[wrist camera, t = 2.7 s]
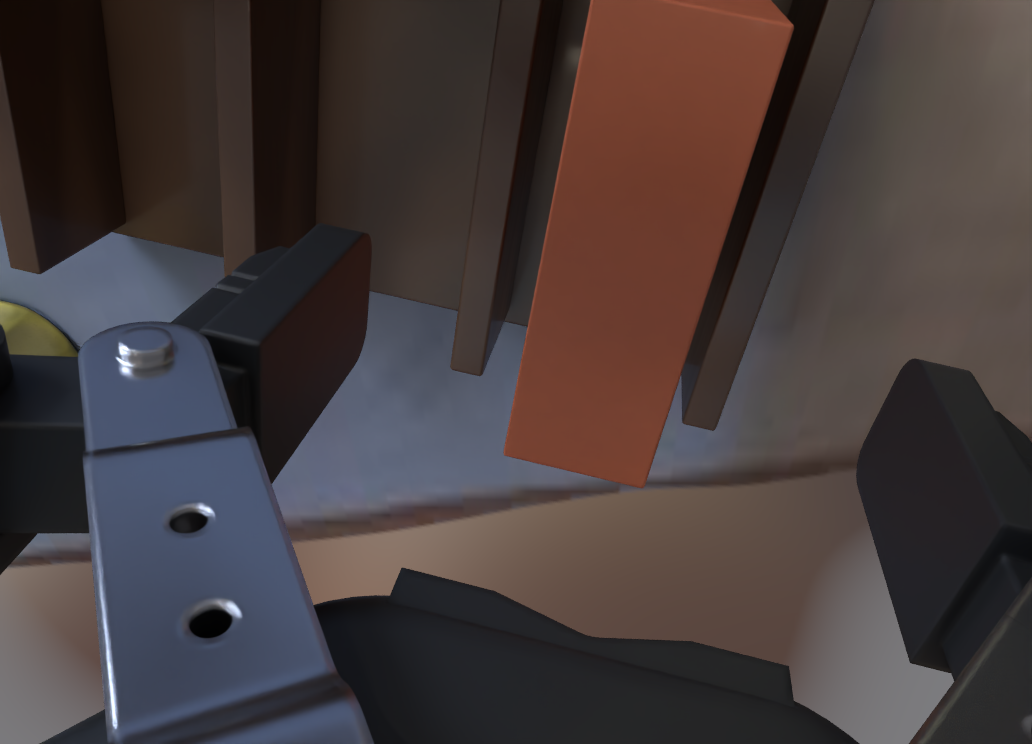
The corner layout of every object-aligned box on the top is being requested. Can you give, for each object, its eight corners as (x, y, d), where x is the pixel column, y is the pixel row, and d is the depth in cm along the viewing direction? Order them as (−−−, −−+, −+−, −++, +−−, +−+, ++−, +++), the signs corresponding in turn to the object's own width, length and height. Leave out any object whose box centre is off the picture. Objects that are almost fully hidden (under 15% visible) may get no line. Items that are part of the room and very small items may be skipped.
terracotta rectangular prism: (564, 256, 26) (501, 459, 16) (630, -55, 21) (593, -16, 12) (655, 276, 26) (642, 493, 16) (742, -33, 21) (796, 24, 11)
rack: (115, 222, 29) (-78, 335, 22) (51, -301, 21) (-292, -409, 14) (704, 356, 28) (714, 525, 20) (877, -150, 20) (999, -176, 12)
